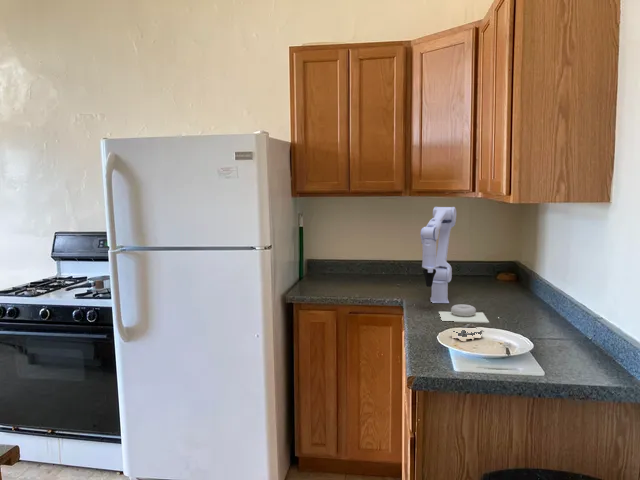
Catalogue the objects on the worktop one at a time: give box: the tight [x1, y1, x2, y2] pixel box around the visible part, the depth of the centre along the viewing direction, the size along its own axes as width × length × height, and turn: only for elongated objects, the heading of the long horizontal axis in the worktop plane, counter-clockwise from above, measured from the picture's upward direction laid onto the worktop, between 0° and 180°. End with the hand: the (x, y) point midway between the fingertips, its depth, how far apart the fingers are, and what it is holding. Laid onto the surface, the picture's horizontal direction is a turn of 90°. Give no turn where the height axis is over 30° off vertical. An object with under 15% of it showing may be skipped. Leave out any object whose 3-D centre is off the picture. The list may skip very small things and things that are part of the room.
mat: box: [438, 311, 490, 324], centre depth 198 cm, size 14×18×1 cm
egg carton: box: [453, 322, 485, 337], centre depth 173 cm, size 11×8×4 cm
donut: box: [450, 303, 477, 317], centre depth 201 cm, size 10×3×10 cm
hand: (429, 286), depth 209 cm, fingers closed
